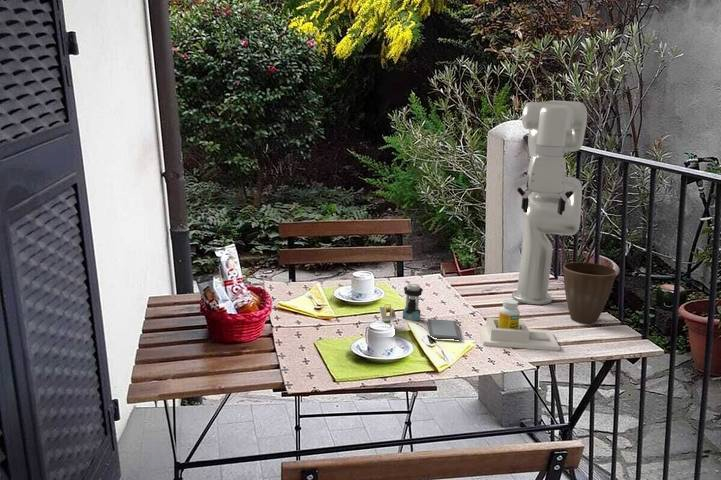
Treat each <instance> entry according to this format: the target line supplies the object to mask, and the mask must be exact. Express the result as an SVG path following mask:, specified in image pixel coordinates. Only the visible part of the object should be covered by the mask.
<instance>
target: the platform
mask: <svg viewBox="0 0 721 480" xmlns="http://www.w3.org/2000/svg"><path fill="white" fill-rule="evenodd" d="M387 312H389V315H387ZM379 313H380V318H381V321H382V322H384V323H390V324H391V322H392V321H394V320H397V319H396V318H397V316H396V312H395V309H394V308H392V305H391V303H388V304H387V303H384V305H383V306H380V307H379Z"/></svg>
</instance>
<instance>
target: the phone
mask: <svg viewBox="0 0 721 480" xmlns="http://www.w3.org/2000/svg"><path fill="white" fill-rule="evenodd" d="M427 327H428V328H427V329H428V334H430V336H432V337H434V338H437V339H454V340H459V341H460V342H461V335H460V332H459V327H458V324H457V321H456V320H447V319H437V318H436V319H435V318H434V319H433V318H428V319H427ZM430 336H429V337H430Z"/></svg>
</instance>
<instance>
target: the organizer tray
mask: <svg viewBox="0 0 721 480" xmlns="http://www.w3.org/2000/svg"><path fill="white" fill-rule="evenodd" d="M485 323H486V324H485V325H479V324H478V325H477V330H478V333H479V337H480V340H481V342H482V345H483V346H487V347H488V346H489V347H499V348H500V347H502V348H514V349H515V348H517V349H529V350H530V349H531V350H541V351H542V350H543V351H556V352H557V351H558V352H559V351H560V349H561V346H560V345H559V343H558V341H557V340H556V338H555V337H554V335H553V333H552V332H551V330H550V329H538V328H537V329H535V328H528V326H527V324H526V322H525V321H524V319H519V324H518V330H516V329H501V328H498V323H499V317H486V322H485Z"/></svg>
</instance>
